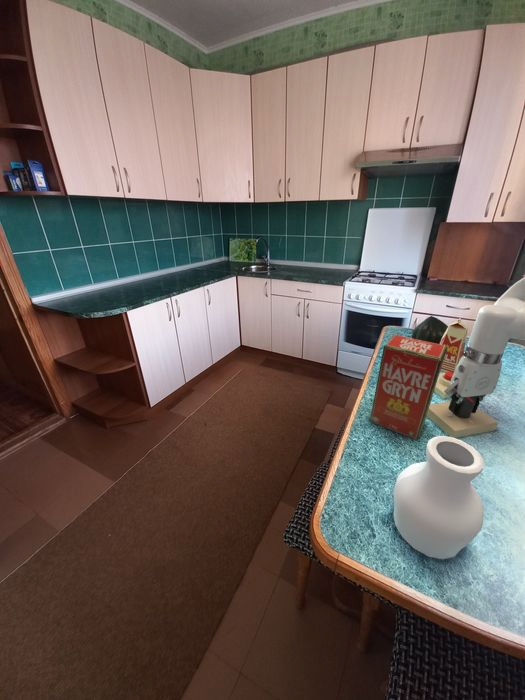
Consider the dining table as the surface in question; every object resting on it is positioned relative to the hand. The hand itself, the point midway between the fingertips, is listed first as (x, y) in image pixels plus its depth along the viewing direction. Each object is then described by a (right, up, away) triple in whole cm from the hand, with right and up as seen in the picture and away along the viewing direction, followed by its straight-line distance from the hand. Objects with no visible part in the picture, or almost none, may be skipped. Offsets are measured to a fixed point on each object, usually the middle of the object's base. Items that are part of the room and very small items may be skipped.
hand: (461, 410), depth 82 cm
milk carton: (+14, +10, +29) cm, 34 cm away
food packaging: (-17, -4, +2) cm, 18 cm away
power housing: (+7, +4, +17) cm, 18 cm away
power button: (+6, +7, +15) cm, 18 cm away
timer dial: (0, -1, 0) cm, 1 cm away
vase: (-24, -18, -25) cm, 39 cm away
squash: (+15, +17, +42) cm, 48 cm away
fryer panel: (0, -4, +2) cm, 4 cm away
